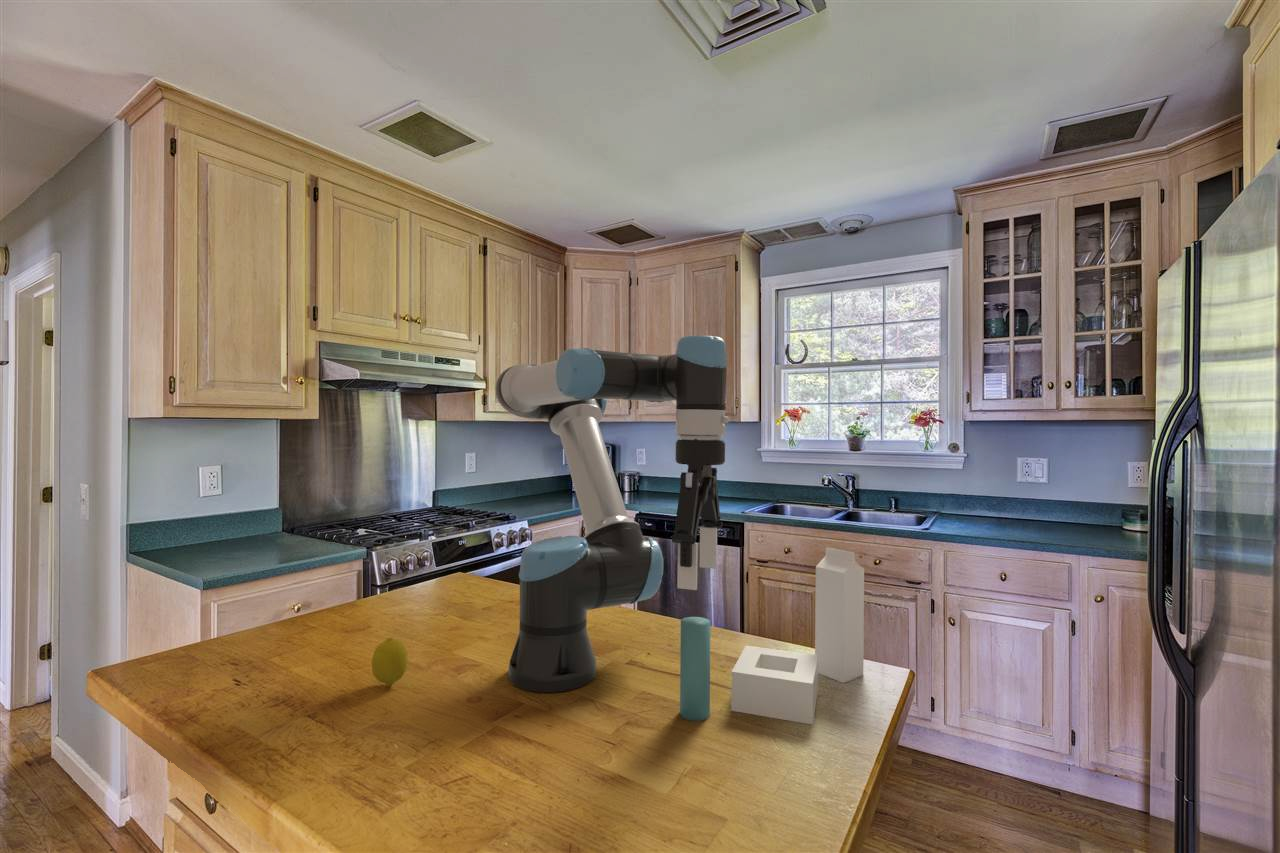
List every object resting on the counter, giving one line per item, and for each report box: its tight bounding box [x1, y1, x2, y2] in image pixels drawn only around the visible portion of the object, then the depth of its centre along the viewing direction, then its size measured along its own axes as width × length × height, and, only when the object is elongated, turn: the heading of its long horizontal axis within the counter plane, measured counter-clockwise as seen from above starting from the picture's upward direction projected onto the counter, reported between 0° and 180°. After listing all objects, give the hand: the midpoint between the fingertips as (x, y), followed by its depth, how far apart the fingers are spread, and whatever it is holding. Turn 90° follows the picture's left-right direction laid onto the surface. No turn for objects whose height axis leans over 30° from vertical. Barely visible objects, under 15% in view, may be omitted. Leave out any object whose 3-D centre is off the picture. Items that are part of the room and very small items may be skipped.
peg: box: [679, 616, 711, 722], centre depth 91 cm, size 4×4×14 cm
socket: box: [730, 645, 819, 725], centre depth 96 cm, size 12×12×6 cm
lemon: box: [371, 637, 409, 687], centre depth 100 cm, size 6×6×8 cm
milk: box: [814, 547, 865, 684], centre depth 107 cm, size 6×6×22 cm
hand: (698, 577), depth 92 cm, fingers open, 13 cm apart
